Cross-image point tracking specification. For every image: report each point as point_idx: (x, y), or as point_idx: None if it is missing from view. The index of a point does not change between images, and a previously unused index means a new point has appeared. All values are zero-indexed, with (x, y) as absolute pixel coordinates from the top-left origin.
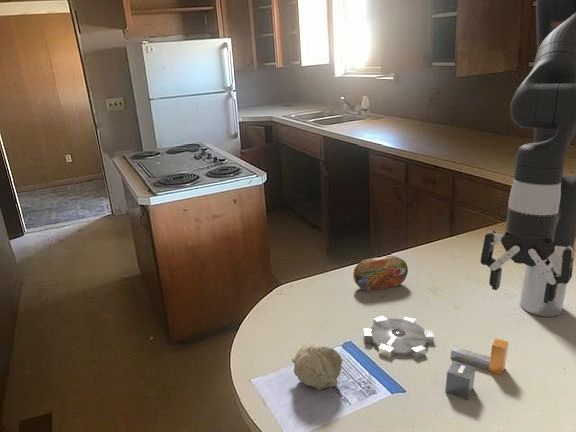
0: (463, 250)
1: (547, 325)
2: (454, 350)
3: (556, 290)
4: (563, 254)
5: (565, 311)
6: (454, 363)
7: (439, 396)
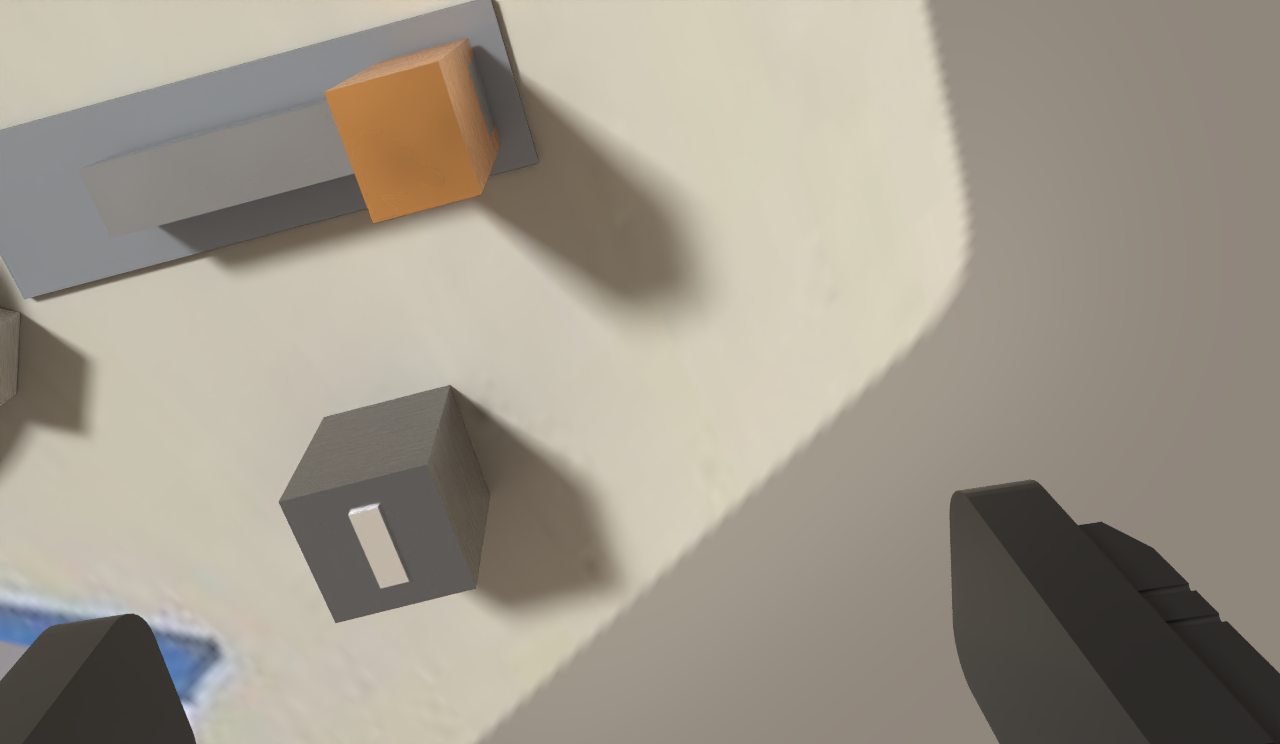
0: None
1: None
2: (129, 223)
3: (1230, 628)
4: None
5: None
6: (303, 522)
7: None
